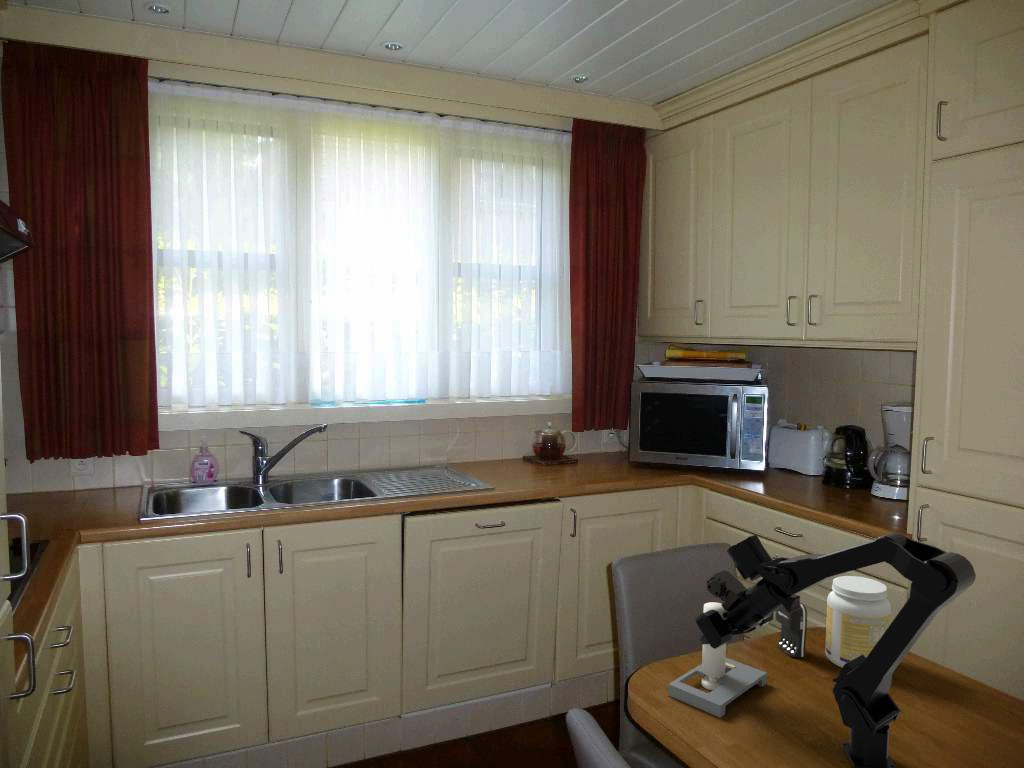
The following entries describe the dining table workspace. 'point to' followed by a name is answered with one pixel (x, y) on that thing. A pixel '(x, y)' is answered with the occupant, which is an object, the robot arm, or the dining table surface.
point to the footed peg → (713, 656)
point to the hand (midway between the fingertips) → (708, 638)
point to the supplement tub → (855, 618)
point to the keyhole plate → (732, 687)
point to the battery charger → (792, 631)
